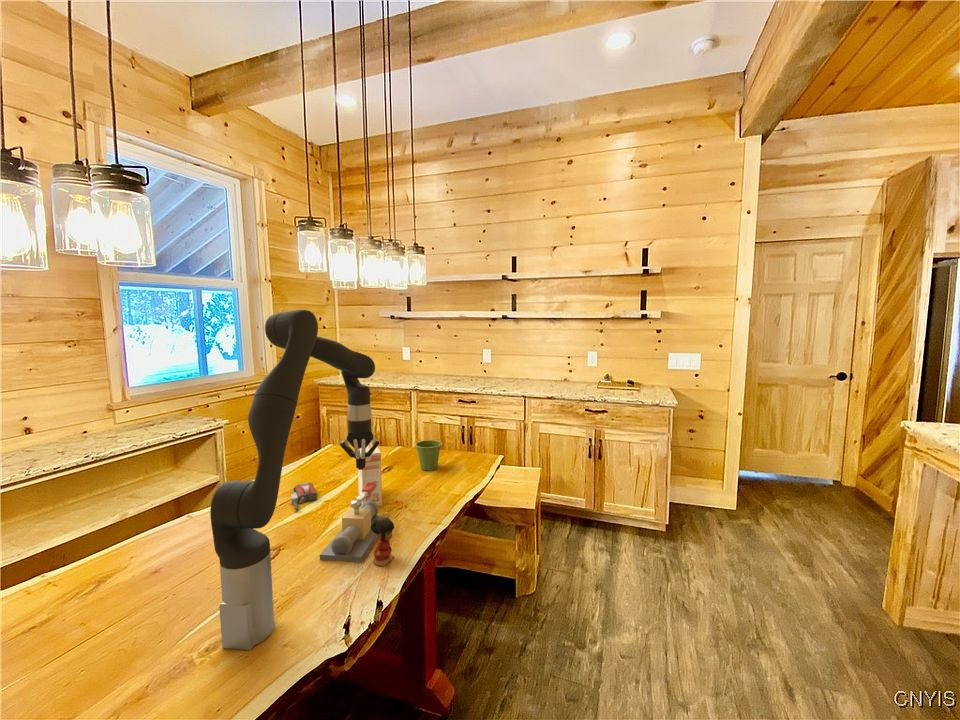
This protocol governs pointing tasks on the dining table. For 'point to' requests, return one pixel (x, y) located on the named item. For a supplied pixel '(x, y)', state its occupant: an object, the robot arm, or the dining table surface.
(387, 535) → the figurine
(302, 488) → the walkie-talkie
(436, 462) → the plant pot
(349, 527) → the valve stand
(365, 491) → the lever
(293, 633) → the dining table surface
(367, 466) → the coffeecake box
